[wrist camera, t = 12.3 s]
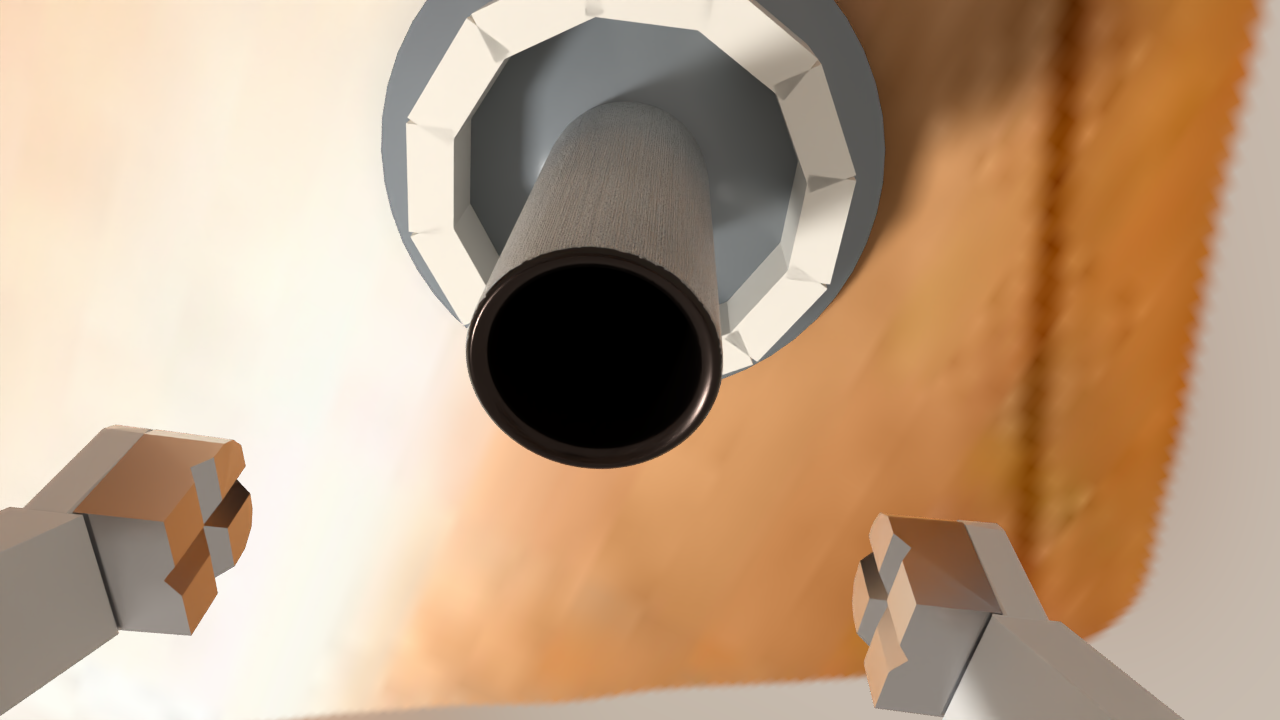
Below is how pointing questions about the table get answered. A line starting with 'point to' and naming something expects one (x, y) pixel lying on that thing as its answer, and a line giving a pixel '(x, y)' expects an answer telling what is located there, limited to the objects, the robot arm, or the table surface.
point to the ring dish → (669, 80)
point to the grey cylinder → (605, 297)
